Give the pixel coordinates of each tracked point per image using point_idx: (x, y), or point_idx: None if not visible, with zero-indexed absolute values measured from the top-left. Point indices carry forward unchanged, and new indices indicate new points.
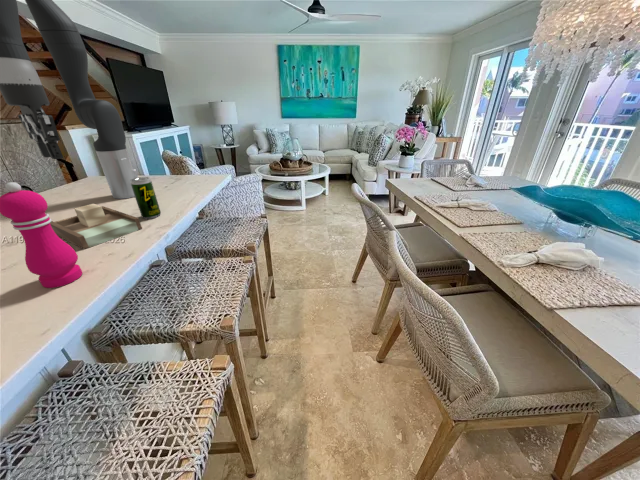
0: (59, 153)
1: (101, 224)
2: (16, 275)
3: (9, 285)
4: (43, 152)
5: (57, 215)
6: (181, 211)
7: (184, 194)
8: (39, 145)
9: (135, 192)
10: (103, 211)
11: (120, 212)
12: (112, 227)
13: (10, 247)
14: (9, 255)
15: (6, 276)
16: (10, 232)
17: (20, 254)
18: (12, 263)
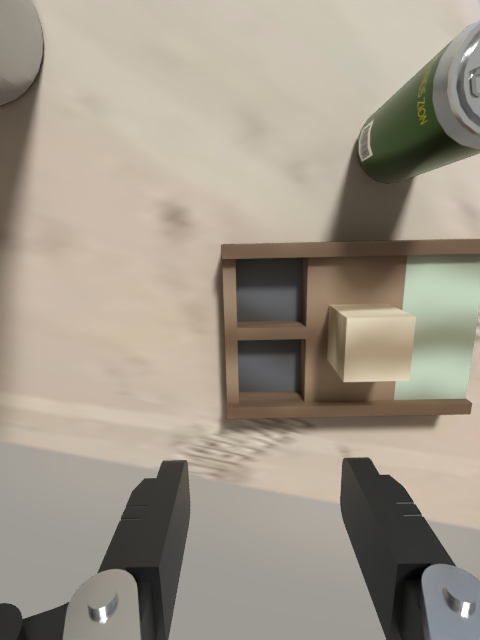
0: (408, 501)
1: None
2: (439, 508)
3: (472, 523)
4: (185, 541)
5: (61, 337)
6: (457, 33)
7: None
8: (172, 611)
9: (460, 159)
10: (404, 311)
11: (371, 244)
12: (458, 320)
13: (256, 480)
14: (310, 492)
15: None
16: (128, 455)
17: (328, 479)
18: None
